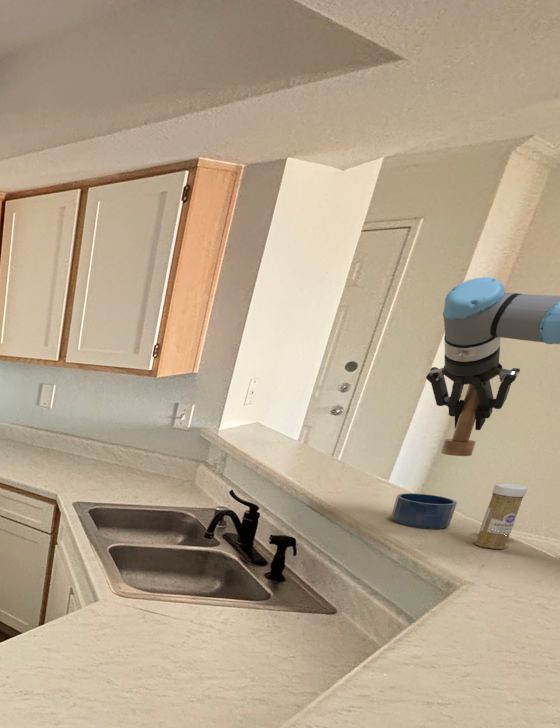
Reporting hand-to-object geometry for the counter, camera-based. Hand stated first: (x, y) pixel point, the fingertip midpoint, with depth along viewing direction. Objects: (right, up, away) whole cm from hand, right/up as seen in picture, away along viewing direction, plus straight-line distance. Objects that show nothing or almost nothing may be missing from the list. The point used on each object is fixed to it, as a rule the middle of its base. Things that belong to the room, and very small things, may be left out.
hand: (469, 424), depth 130 cm
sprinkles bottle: (-1, -27, -5) cm, 28 cm away
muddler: (-3, -7, 0) cm, 7 cm away
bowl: (-1, -22, +10) cm, 24 cm away
